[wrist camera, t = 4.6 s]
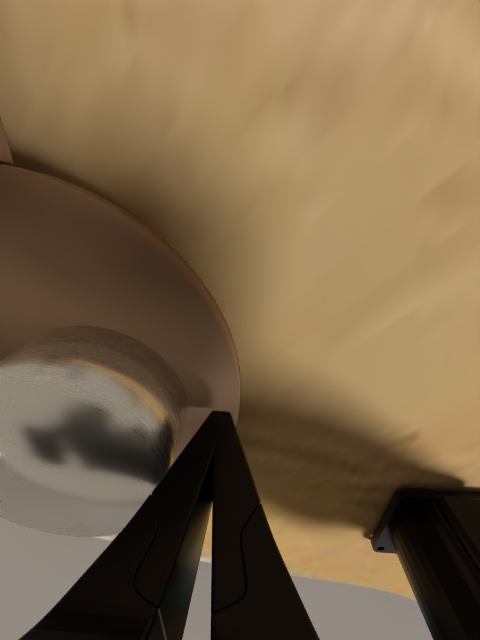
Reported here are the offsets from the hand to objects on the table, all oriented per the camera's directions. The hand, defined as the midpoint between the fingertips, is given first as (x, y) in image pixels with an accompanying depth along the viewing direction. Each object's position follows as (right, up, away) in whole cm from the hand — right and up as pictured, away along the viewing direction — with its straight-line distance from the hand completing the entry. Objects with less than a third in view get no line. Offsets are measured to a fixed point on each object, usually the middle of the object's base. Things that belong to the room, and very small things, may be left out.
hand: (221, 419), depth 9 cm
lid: (-5, 0, +1) cm, 5 cm away
